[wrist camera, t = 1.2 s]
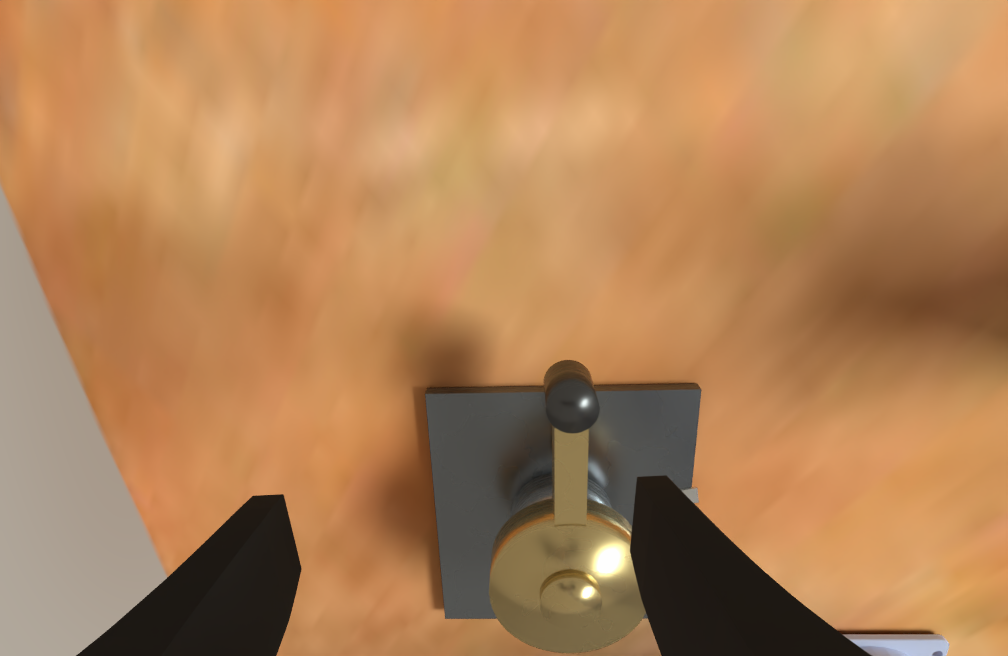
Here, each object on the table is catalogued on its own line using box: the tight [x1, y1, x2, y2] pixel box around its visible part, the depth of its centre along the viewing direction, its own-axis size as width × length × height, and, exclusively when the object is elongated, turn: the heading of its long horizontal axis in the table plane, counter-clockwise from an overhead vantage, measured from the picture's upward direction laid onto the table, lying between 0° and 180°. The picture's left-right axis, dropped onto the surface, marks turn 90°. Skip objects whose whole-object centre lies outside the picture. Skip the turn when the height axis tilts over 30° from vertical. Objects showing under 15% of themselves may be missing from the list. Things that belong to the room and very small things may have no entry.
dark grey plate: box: [425, 384, 701, 619], centre depth 25 cm, size 13×12×3 cm
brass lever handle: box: [489, 360, 646, 653], centre depth 21 cm, size 12×6×2 cm, turn 2°
